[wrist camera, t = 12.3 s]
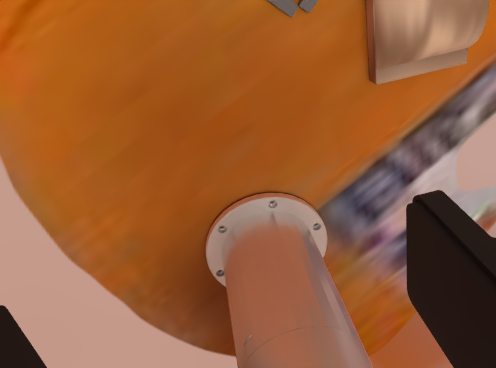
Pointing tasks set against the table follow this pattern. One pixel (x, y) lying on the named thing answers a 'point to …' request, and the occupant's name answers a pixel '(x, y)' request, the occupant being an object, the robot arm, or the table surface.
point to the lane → (420, 35)
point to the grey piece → (293, 5)
